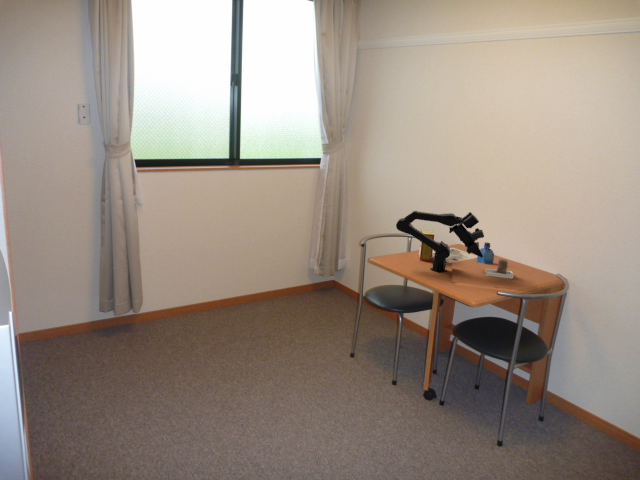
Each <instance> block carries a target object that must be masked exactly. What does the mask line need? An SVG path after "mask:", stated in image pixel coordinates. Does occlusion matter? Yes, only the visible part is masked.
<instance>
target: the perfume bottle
mask: <svg viewBox="0 0 640 480" xmlns="http://www.w3.org/2000/svg"><path fill="white" fill-rule="evenodd" d="M479 249H480V251H481V253H482V255H483V257H482V258H481V257H479V256H477V255H476V257H477V258H476V263H480V264H481V263H482V264H491V265H493V264H494V258H495V253H494V251H493V249H491V243H490V242H484V244H483V247H481V248H479Z"/></svg>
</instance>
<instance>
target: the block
mask: <svg viewBox="0 0 640 480" xmlns="http://www.w3.org/2000/svg"><path fill="white" fill-rule="evenodd" d="M507 269H508V260H507V259H503V258H502V259H501V258H499V259H498V263H497V269H496V270H497V273H501V274H506V271H508V270H507Z"/></svg>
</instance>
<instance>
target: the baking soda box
mask: <svg viewBox="0 0 640 480" xmlns="http://www.w3.org/2000/svg"><path fill="white" fill-rule="evenodd" d="M420 232H422V233H423V234H425V235H426V236H428V237H430V238H431V239H433V240H434V241H435V233H434V231H433V230H425V229H420ZM418 251H419V252H418V257H419V261H421V262H432V260H433V252H434V250H433V249H432V248H430V247H429V246H427V245H426V244H424V243H423V242H421V241H420V240H419V249H418Z"/></svg>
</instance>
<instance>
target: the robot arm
mask: <svg viewBox="0 0 640 480" xmlns="http://www.w3.org/2000/svg"><path fill="white" fill-rule="evenodd" d="M415 220H419V221H426V222H434V223H440V224H442V225H444V226H447V227H448V228H449V232H448V233H449V234H451V233H454V234H455V235H456V237H458V239H459V241H460V242H462V243H463V244H464V247H465V248H466V252H467V254H468V255H470V254H474V255H476V257H477V256H479V257H481V258H482V257H483V255H482V253H481V251H480V249H481V248H480V243H479V241H478V240H479V239H483V238H484V237H485V234H484V231H483V229H480V228H478V227H477V228H475V229H474V231H473V232H471V231H469V230H467V229H472V228H473V227H474V226H476V225H477V224H478V223H480V220H479V219H478V218H477V217H476V215H474V214H473V213H472V212H471V211H470V212H468V213H467V214H466V215H465V216H464V217H459V216H456V215H455V214H454V213H453V212H452V213H439V214H438V213H433V212H432V213H431V212H424V211H418V210H413V211H412V212H411V213H409V214H408V215H406V216H405V217H402V218H399V219H398V221H397V222H396V224H395V228H396V230H397V231H399V232H402V233H403V234H404V233H405V234H407V235H410V236H412V237H413V238H415V239H416V240H418V241H419V242H420V241H421V242H423V243H424V244H426V245H427V246H429V247H430V248H432V249H433V252H434V256H433V257H434V259H433V258H432V260H433V262H432V267H431V268H429V269H430V270H431V271H434V272H437V273H444V272H447V271H448V270H447V269H446V265H447V258H449V257H450V255H451V249H450V247H449V244H446V243H445V242H444V241H443V240H441V241H440V242H438V241H436V240H435V239H434V240H433V239H431V238H430V237H428V236H426V235H425V234H423V233H422V232H421V230H419V229H417V228H415V226H413V224H412V223H413V222H415Z"/></svg>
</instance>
